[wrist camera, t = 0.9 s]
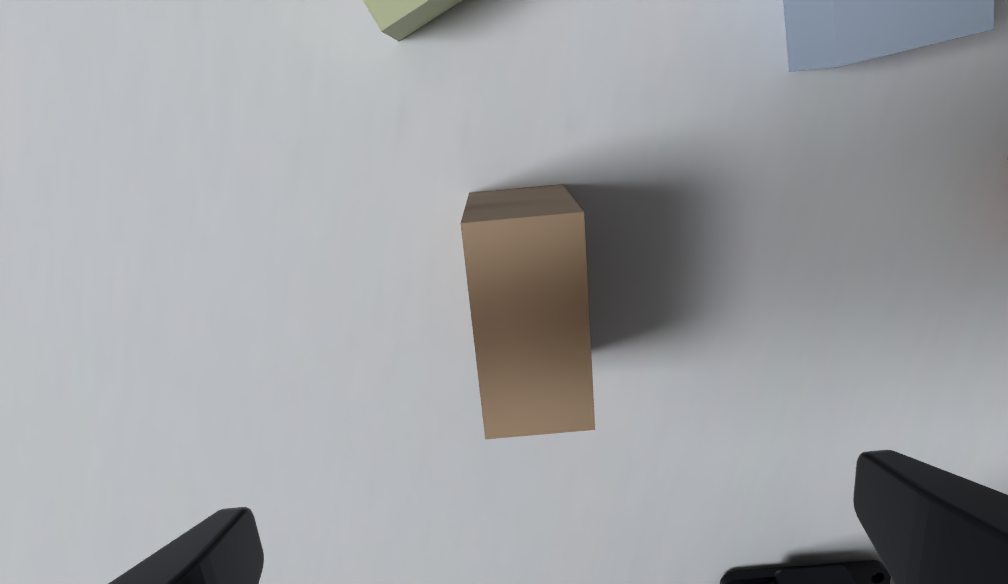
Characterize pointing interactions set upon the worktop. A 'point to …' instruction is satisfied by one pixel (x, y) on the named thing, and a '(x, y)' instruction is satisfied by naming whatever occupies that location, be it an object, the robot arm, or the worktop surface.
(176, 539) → the robot arm
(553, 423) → the walnut brick
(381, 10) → the olive brick
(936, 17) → the slate brick
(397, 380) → the worktop surface
